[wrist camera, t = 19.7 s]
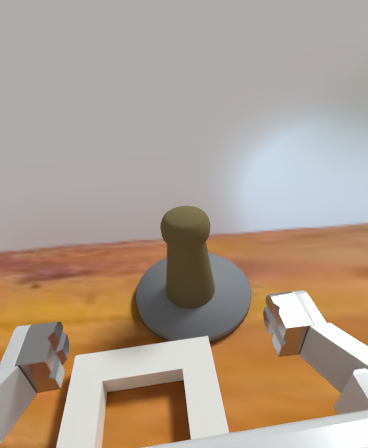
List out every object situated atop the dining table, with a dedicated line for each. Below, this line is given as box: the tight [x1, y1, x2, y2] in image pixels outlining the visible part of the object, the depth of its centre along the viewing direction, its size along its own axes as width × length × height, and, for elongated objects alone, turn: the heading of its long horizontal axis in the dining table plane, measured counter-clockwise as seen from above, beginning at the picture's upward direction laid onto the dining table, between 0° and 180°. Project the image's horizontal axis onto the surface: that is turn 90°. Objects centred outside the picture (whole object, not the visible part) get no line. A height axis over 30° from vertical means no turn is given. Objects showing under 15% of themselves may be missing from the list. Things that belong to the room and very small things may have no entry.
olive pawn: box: [161, 206, 215, 309], centre depth 32 cm, size 6×6×11 cm
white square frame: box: [56, 336, 229, 448], centre depth 23 cm, size 13×13×2 cm
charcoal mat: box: [136, 253, 251, 343], centre depth 35 cm, size 14×14×1 cm
